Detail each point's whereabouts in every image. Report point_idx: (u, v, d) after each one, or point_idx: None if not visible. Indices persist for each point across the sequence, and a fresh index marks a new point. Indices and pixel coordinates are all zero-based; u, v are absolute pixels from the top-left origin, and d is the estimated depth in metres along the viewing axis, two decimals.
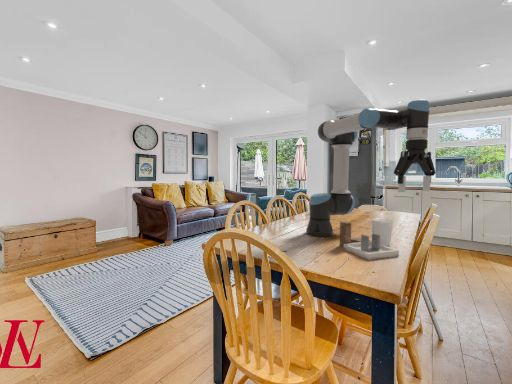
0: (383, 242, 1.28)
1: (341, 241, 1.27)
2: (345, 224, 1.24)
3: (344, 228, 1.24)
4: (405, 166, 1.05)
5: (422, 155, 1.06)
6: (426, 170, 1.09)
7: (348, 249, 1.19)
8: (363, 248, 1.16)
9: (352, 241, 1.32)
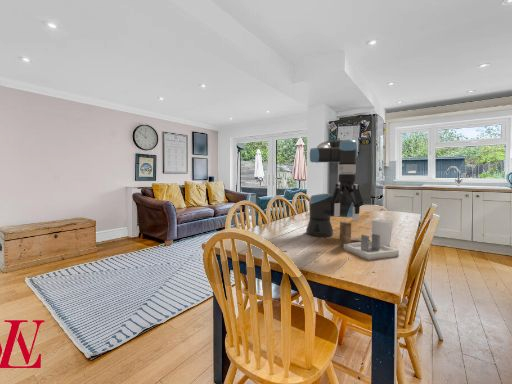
0: (383, 242, 1.28)
1: (341, 241, 1.27)
2: (345, 224, 1.24)
3: (344, 228, 1.24)
4: None
5: (344, 187, 1.22)
6: None
7: (348, 249, 1.19)
8: (363, 248, 1.16)
9: (353, 241, 1.31)
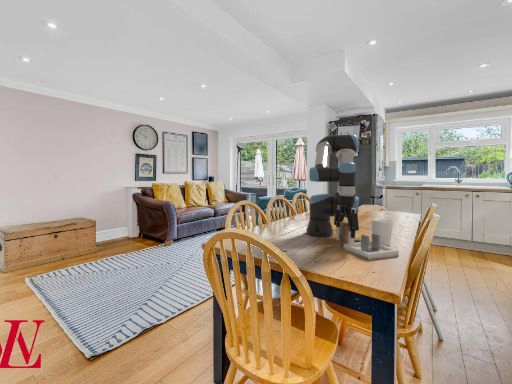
0: (383, 242, 1.28)
1: (341, 241, 1.27)
2: (345, 224, 1.24)
3: (344, 228, 1.24)
4: None
5: (344, 209, 1.23)
6: None
7: (348, 249, 1.19)
8: (363, 248, 1.16)
9: (354, 242, 1.31)
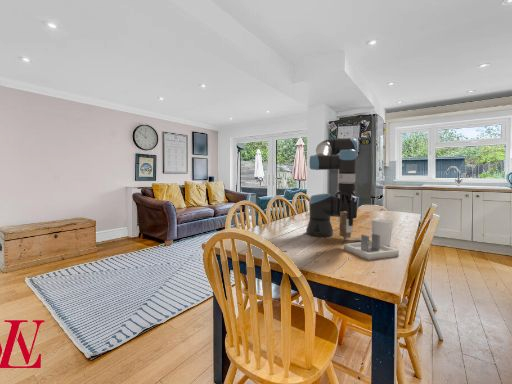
0: (383, 242, 1.28)
1: (341, 231, 1.27)
2: (345, 214, 1.23)
3: (344, 218, 1.24)
4: None
5: (344, 196, 1.23)
6: None
7: (348, 249, 1.19)
8: (363, 248, 1.16)
9: (355, 242, 1.31)
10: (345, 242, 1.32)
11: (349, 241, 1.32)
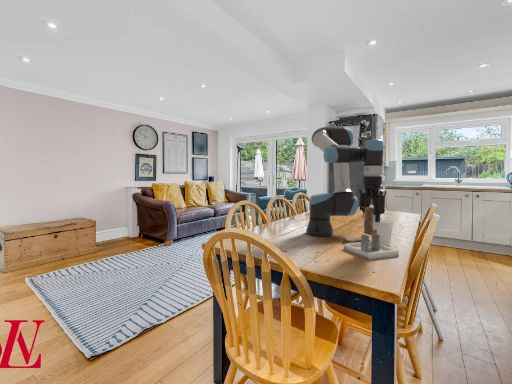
0: (383, 242, 1.28)
1: (366, 228, 1.17)
2: (371, 209, 1.14)
3: (370, 214, 1.15)
4: None
5: (370, 190, 1.14)
6: None
7: (348, 249, 1.19)
8: (363, 248, 1.16)
9: (357, 242, 1.31)
10: (347, 243, 1.30)
11: (351, 242, 1.30)
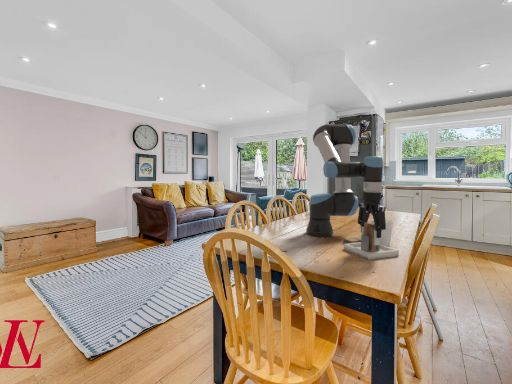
0: (383, 242, 1.28)
1: None
2: (370, 225, 1.15)
3: (369, 230, 1.15)
4: None
5: (370, 206, 1.14)
6: None
7: (348, 249, 1.19)
8: (363, 248, 1.16)
9: None
10: None
11: (354, 242, 1.30)
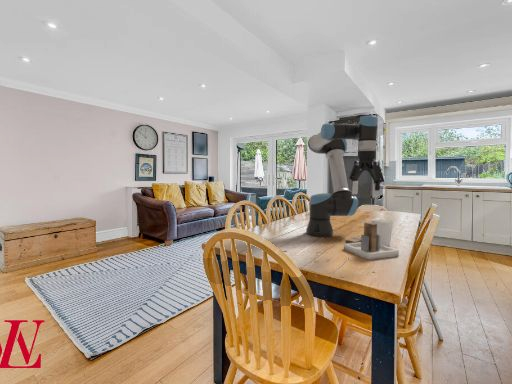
0: (383, 242, 1.28)
1: None
2: (370, 225, 1.15)
3: (369, 230, 1.15)
4: None
5: (364, 164, 1.20)
6: None
7: (348, 249, 1.19)
8: (363, 248, 1.16)
9: None
10: None
11: (357, 242, 1.29)
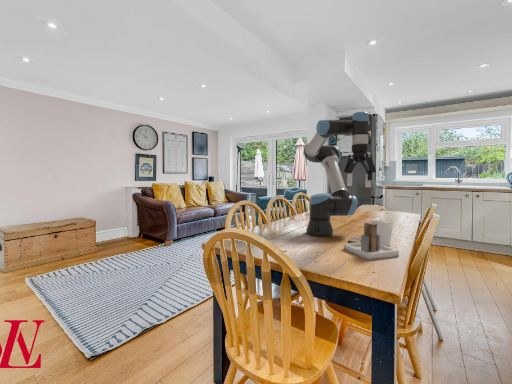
0: (383, 242, 1.28)
1: None
2: (370, 225, 1.15)
3: (369, 230, 1.15)
4: None
5: (357, 156, 1.29)
6: None
7: (348, 249, 1.19)
8: (363, 248, 1.16)
9: None
10: None
11: None
